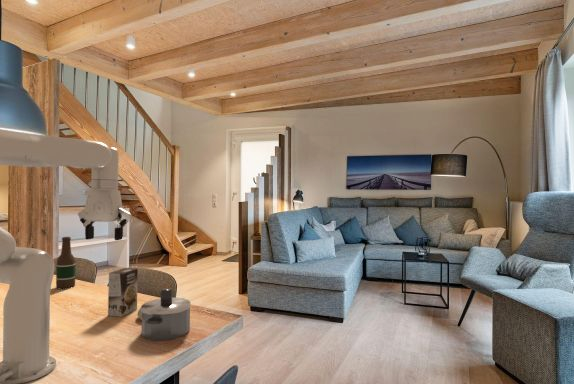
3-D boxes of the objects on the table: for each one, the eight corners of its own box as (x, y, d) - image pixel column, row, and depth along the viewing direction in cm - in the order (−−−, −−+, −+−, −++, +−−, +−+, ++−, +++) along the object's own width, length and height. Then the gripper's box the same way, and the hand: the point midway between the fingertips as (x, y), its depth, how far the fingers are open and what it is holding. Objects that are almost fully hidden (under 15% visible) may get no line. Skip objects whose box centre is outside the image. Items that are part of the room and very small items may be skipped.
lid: (180, 319, 106) (180, 297, 106) (131, 317, 107) (132, 296, 107) (196, 303, 122) (196, 284, 122) (153, 301, 123) (154, 282, 123)
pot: (176, 344, 104) (176, 318, 104) (128, 342, 106) (129, 316, 106) (198, 321, 124) (198, 298, 124) (157, 319, 125) (158, 297, 125)
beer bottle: (57, 285, 166) (58, 236, 166) (76, 284, 170) (76, 235, 170) (54, 290, 159) (55, 238, 159) (74, 288, 163) (74, 237, 163)
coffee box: (122, 317, 127) (123, 273, 127) (107, 315, 128) (107, 272, 128) (137, 309, 135) (138, 268, 135) (123, 307, 137) (124, 267, 137)
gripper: (71, 185, 106) (70, 240, 106) (124, 185, 105) (123, 241, 105) (87, 185, 114) (86, 237, 114) (137, 186, 112) (136, 238, 112)
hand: (103, 239), depth 109 cm, fingers open, 9 cm apart
